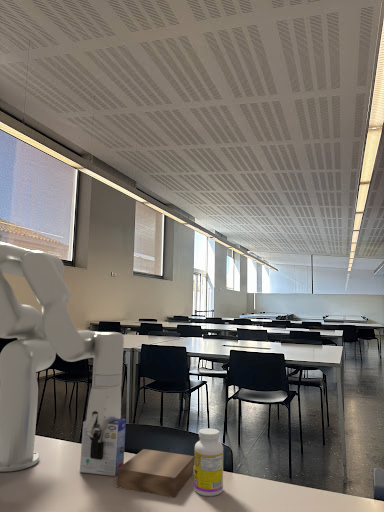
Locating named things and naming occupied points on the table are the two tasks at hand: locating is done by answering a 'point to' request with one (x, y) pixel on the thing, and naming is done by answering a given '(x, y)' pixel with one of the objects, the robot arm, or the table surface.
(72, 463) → the table surface
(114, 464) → the ink cartridge box
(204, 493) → the supplement bottle
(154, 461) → the walnut block
